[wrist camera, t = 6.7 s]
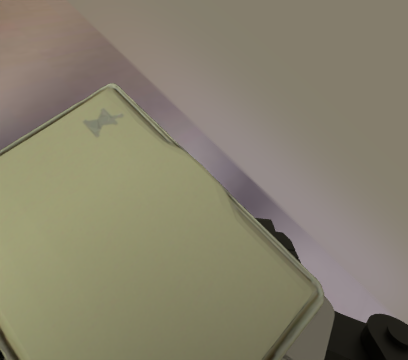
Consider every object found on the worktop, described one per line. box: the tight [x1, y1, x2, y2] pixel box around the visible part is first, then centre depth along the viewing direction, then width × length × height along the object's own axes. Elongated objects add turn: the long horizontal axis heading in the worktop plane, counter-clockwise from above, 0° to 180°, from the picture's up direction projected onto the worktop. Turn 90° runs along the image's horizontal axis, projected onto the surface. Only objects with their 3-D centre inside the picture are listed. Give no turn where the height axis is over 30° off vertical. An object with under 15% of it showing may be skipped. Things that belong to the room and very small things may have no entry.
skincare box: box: [0, 83, 324, 360], centre depth 10 cm, size 6×4×12 cm
